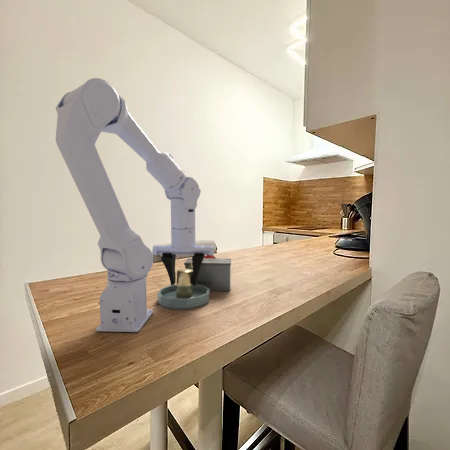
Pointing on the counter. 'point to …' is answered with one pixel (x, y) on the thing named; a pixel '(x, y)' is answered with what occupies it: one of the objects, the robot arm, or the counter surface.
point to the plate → (171, 301)
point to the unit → (213, 273)
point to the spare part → (184, 283)
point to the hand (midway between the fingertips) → (183, 284)
